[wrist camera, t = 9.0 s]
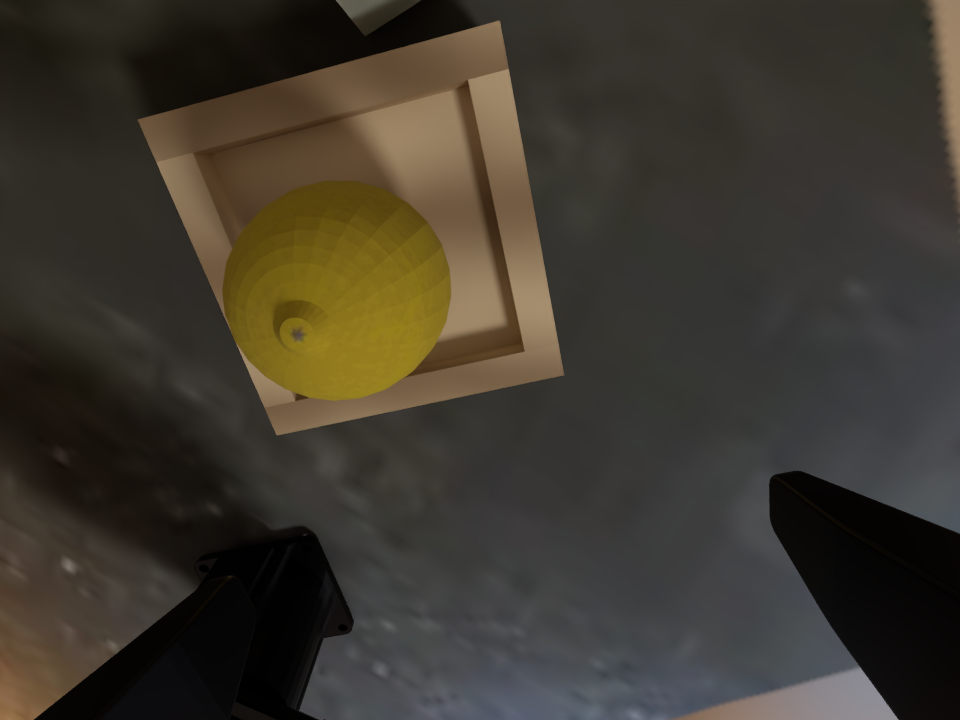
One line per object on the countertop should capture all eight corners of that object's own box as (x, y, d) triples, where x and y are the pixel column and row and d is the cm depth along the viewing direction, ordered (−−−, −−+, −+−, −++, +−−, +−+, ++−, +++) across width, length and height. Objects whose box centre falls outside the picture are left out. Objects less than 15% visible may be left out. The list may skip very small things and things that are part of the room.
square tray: (550, 343, 20) (564, 375, 17) (308, 395, 21) (276, 435, 18) (495, 51, 16) (499, 20, 13) (201, 130, 17) (137, 119, 14)
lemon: (425, 359, 18) (386, 490, 10) (281, 303, 17) (129, 403, 10) (482, 219, 16) (483, 258, 9) (323, 149, 15) (175, 126, 8)
